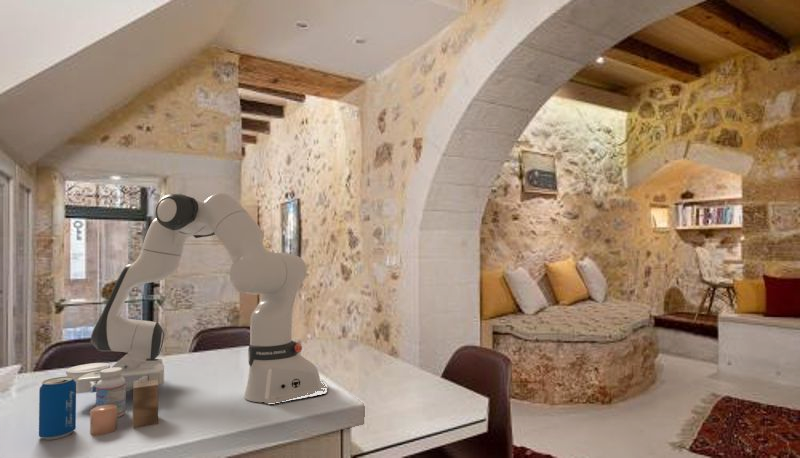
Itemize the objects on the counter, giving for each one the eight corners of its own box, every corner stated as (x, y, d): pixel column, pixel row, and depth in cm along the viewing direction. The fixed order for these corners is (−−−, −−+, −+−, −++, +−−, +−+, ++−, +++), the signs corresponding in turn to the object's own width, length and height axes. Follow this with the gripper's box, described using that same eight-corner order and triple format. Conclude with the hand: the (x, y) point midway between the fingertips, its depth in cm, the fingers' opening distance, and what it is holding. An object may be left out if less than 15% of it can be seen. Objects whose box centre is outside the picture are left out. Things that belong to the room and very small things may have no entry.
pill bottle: (93, 416, 111) (93, 369, 111) (121, 409, 115) (122, 365, 115) (98, 422, 106) (99, 374, 107) (128, 415, 111) (128, 369, 111)
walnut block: (157, 417, 109) (157, 379, 110) (158, 423, 105) (158, 384, 105) (133, 421, 107) (133, 382, 107) (133, 428, 103) (133, 388, 103)
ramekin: (89, 391, 132) (89, 372, 132) (55, 389, 133) (56, 371, 134) (118, 379, 143) (118, 362, 143) (87, 378, 144) (87, 362, 145)
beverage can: (55, 442, 96) (56, 384, 96) (30, 440, 97) (31, 383, 98) (82, 430, 102) (83, 376, 103) (59, 428, 103) (59, 375, 104)
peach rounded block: (119, 425, 105) (119, 403, 105) (113, 433, 100) (113, 410, 100) (94, 428, 103) (94, 406, 103) (87, 437, 98) (87, 413, 99)
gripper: (85, 365, 124) (66, 379, 111) (168, 358, 131) (159, 370, 118) (85, 389, 124) (66, 405, 111) (168, 380, 131) (159, 394, 118)
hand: (115, 387), depth 114 cm, fingers open, 8 cm apart
